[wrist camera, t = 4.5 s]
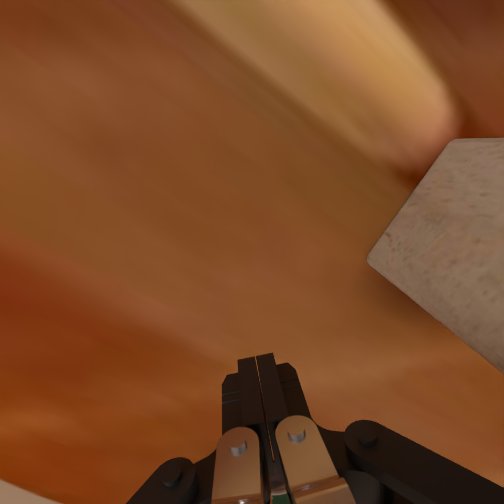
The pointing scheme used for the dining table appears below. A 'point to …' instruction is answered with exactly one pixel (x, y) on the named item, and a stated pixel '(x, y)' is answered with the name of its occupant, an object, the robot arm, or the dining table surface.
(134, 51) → the dining table surface
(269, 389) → the robot arm
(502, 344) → the wooden block
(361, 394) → the dining table surface
